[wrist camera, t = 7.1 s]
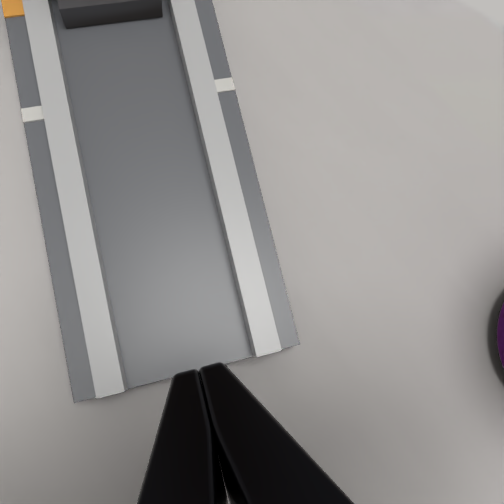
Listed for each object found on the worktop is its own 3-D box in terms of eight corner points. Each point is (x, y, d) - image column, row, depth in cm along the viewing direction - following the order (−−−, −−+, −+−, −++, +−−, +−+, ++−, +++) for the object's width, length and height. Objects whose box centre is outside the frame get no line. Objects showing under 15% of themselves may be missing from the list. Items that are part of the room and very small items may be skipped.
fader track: (292, 344, 21) (306, 344, 18) (82, 398, 19) (67, 406, 17) (192, -48, 24) (193, -92, 22) (4, -30, 22) (-18, -75, 20)
